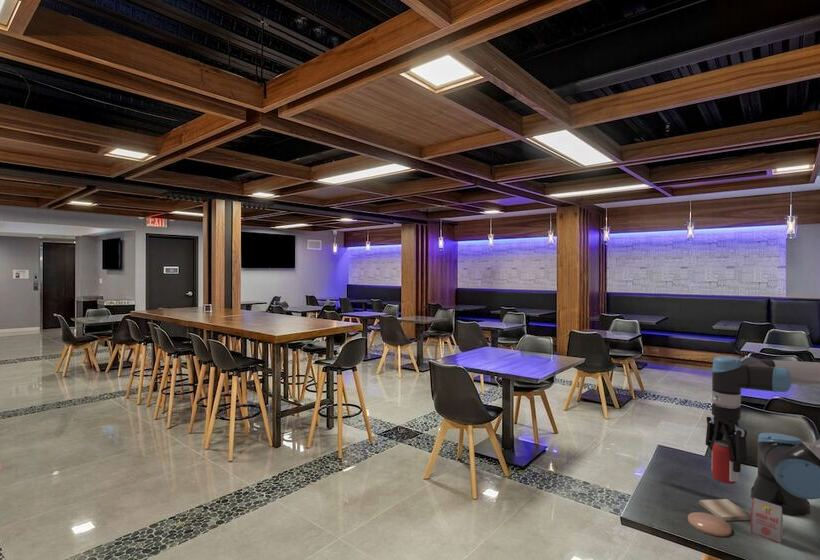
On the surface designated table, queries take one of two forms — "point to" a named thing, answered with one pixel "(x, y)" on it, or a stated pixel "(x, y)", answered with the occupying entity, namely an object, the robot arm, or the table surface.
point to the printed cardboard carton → (767, 520)
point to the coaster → (709, 524)
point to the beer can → (721, 461)
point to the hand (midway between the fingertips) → (724, 475)
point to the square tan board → (725, 509)
